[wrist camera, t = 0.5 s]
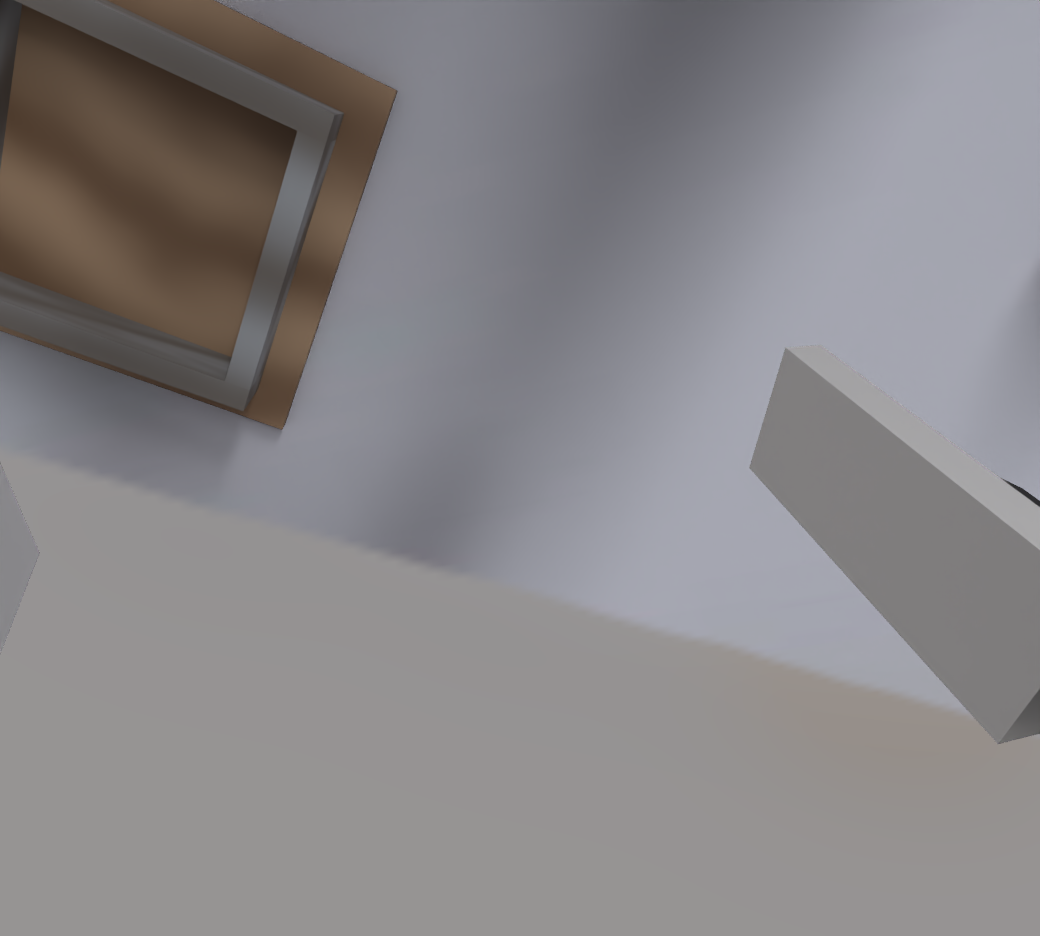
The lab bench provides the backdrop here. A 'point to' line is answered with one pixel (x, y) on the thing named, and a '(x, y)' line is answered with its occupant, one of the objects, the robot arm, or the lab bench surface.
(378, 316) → the lab bench surface
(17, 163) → the square rimmed tray
